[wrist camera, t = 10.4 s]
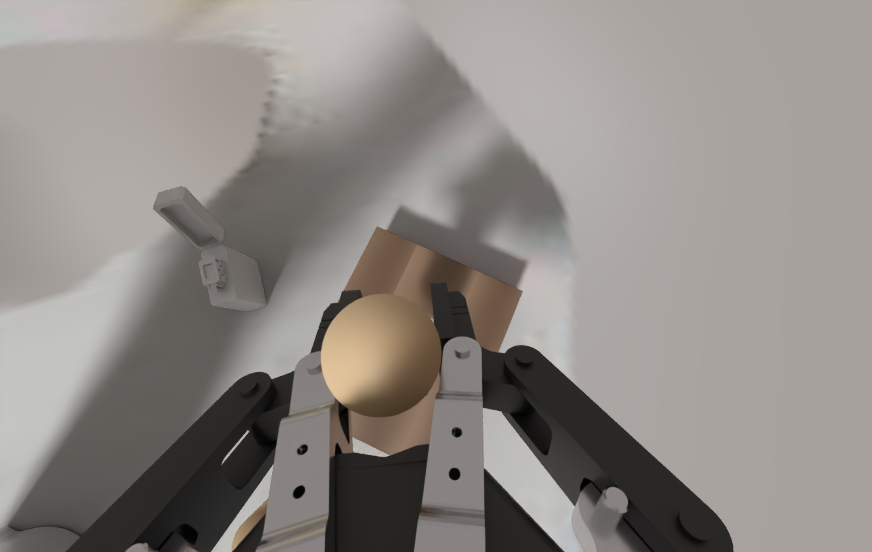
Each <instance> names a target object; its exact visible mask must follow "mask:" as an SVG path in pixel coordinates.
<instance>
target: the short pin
mask: <svg viewBox="0 0 872 552" xmlns="http://www.w3.org/2000/svg"><path fill="white" fill-rule="evenodd" d="M267 505H268V499H267V500H266V501H265V502H264V503H263V504H262V505H261V506H260V507H259V508H258V509H257V510H256V511H255V512H254V513H253V514H252V515H251V516H250V517H249V518H248V519H247V520H246V521H245V522H244V523H243V524H242V525H241V526H240V527H239V529H238V530H237V532H236V534H235V536H234V539H233V543H232V551H233V550H234V549H235V548H236V547H237V546H238V544H239V543H240V542H241V541H242V540H243V539H244V538H245V536H246V535H247V534H248V533H249V532H250V531H251V530H252V528H253V527H254V526H255V525H256V524H257V523H258V521H259V520H260V519H261V518H262V517H263V516H264V515H265V513H266V512H267Z"/></svg>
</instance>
